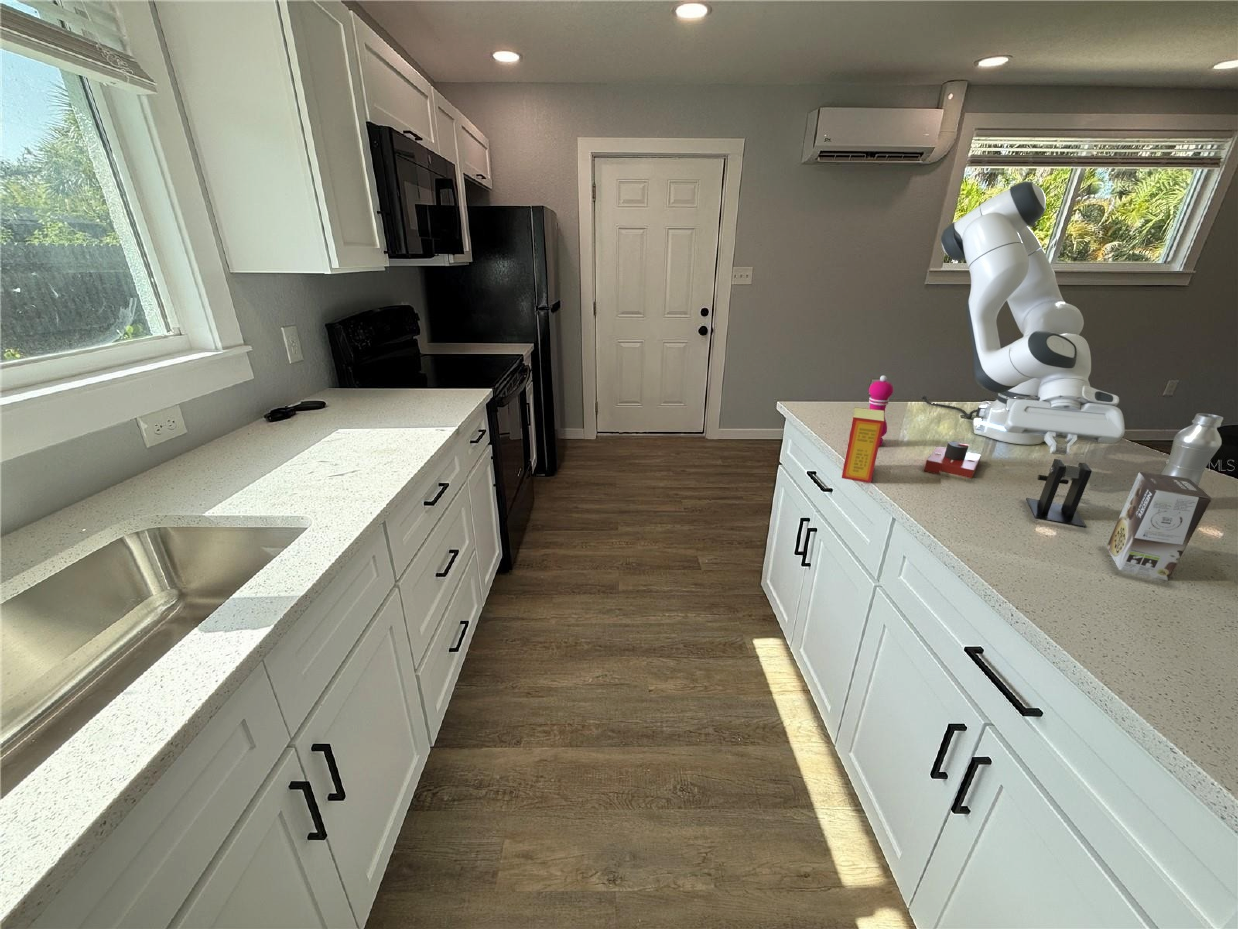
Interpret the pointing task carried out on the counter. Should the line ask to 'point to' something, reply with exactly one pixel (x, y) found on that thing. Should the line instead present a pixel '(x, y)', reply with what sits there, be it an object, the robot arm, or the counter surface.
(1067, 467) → the press lever
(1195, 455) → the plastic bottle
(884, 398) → the pepper mill
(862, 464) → the baking soda box
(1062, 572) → the counter surface
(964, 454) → the dial
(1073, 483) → the bracket
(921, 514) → the counter surface
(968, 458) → the dial panel
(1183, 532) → the coffee box
